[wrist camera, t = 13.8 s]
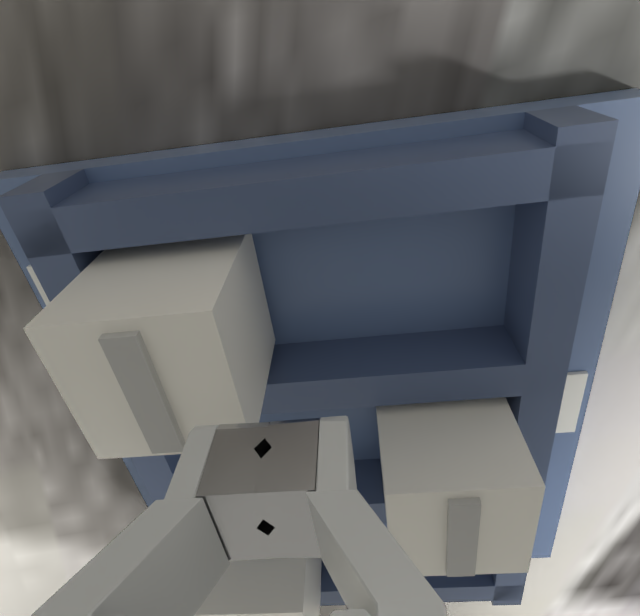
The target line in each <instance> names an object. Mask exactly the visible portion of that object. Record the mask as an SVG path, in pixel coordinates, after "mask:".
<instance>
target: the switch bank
mask: <svg viewBox="0 0 640 616" xmlns="http://www.w3.org/2000/svg"><path fill="white" fill-rule="evenodd" d="M639 190H640V89H637V88H632V89H625V90H617V91H609V92H602V93H594V94H587V95H579V96H571V97H564V98H556V99H548V100H541V101H533V102H525V103H518V104H510V105H503V106H495V107H487V108H480V109H472V110H464V111H457V112H449V113H441V114H434V115H426V116H419V117H411V118H403V119H396V120H388V121H380V122H373V123H365V124H358V125H350V126H342V127H335V128H327V129H319V130H312V131H304V132H296V133H289V134H281V135H274V136H266V137H258V138H251V139H243V140H235V141H228V142H220V143H212V144H205V145H197V146H190V147H182V148H174V149H167V150H159V151H151V152H144V153H136V154H128V155H121V156H113V157H106V158H98V159H90V160H83V161H75V162H67V163H60V164H52V165H45V166H37V167H29V168H22V169H14V170H6V171H1V172H0V229H1V231H2V233H3V235H4V237H5V239H6V241H7V243H8V245H9V246H10V248H11V250H12V252H13V254H14V256H15V258H16V260H17V261H18V263H19V265H20V267H21V269H22V271H23V273H24V275H25V277H26V278H27V280H28V282H29V284H30V286H31V288H32V290H33V292H34V293H35V295H36V297H37V299H38V301H39V303H40V305H41V307H42V309H44V308H45V307H46V306H47V305H48V304H49V303H50V302H51V301H52V300H53V299H54V298H55V297H56V296H57V295H58V294H59V293H60V292H61V291H62V290H63V289H64V288H65V287H66V286H67V285H68V284H69V283H71V282H72V281H73V280H74V279H75V278H76V277H77V276H78V275H79V274H80V273H81V272H82V271H83V270H84V269H85V268H86V267H87V266H88V265H89V264H90V263H91V262H92V261H93V260H94V259H95V258H96V257H97V256H99V255H100V254H101V253H102V252H103V251H104V250H108V249H118V248H127V247H136V246H145V245H154V244H163V243H172V242H181V241H190V240H199V239H208V238H217V237H226V236H235V235H245V234H252V237H253V242H254V246H255V251H256V255H257V260H258V264H259V269H260V273H261V278H262V282H263V287H264V291H265V295H266V300H267V304H268V309H269V313H270V318H271V322H272V327H273V331H274V336H275V345H274V350H273V355H272V360H271V365H270V370H269V375H268V380H267V385H266V390H265V395H264V400H263V405H262V410H261V416H260V421H259V423H260V422H272V421H284V420H297V419H310V418H321V417H333V416H345V415H346V416H348V419H349V425H350V432H351V440H352V447H353V455H354V464H355V474H356V484H357V490H358V491H359V492H360V494H361V495H362V496H363V498H364V499H365V500H366V502H367V503H368V504H369V506H370V507H371V508H372V509H373V511H374V512H375V513H376V515H377V516H378V517H379V519H380V520H381V521H382V522H383V524H384V525H385V526H386V528H387V520H386V510H385V500H384V490H383V480H382V469H381V459H380V448H379V437H378V425H377V414H376V406H388V405H402V404H416V403H431V402H445V401H459V400H473V399H487V398H501V397H506V399H507V402H508V404H509V406H510V408H511V411H512V413H513V415H514V417H515V419H516V422H517V424H518V426H519V428H520V431H521V433H522V435H523V437H524V439H525V442H526V444H527V446H528V448H529V451H530V453H531V455H532V457H533V459H534V462H535V464H536V466H537V468H538V471H539V473H540V475H541V477H542V479H543V482H544V484H545V486H546V487H545V492H544V497H543V502H542V507H541V512H540V517H539V521H538V526H537V531H536V536H535V541H534V546H533V551H532V556H531V558H544V557H550V556H551V551H552V547H553V543H554V539H555V535H556V531H557V527H558V523H559V519H560V514H561V510H562V506H563V502H564V498H565V494H566V490H567V486H568V482H569V477H570V473H571V469H572V465H573V461H574V457H575V453H576V449H577V445H578V440H579V436H580V432H581V428H582V424H583V420H584V416H585V412H586V408H587V403H588V399H589V395H590V391H591V387H592V383H593V379H594V375H595V371H596V366H597V362H598V358H599V354H600V350H601V346H602V342H603V338H604V334H605V329H606V325H607V321H608V317H609V313H610V309H611V305H612V301H613V297H614V292H615V288H616V284H617V280H618V276H619V272H620V268H621V264H622V260H623V255H624V251H625V247H626V243H627V239H628V235H629V231H630V227H631V223H632V219H633V214H634V210H635V206H636V202H637V198H638V194H639ZM180 456H181V454H175V455H159V456H143V457H127V458H122V459H123V461H124V463H125V465H126V467H127V468H128V470H129V472H130V474H131V476H132V478H133V480H134V482H135V484H136V485H137V487H138V489H139V491H140V493H141V495H142V497H143V499H144V500H145V502H146V504H147V506H148V507H149V506H150V505H151V504H152V503H153V502H154V501H156V500H163V499H164V498H165V495H166V493H167V490H168V487H169V485H170V482H171V479H172V477H173V474H174V472H175V469H176V466H177V464H178V461H179V458H180ZM526 576H527V573H505V574H475V576H464V577H447V575H446V576H424V577H425V579H426V580H427V581H428V583H429V584H430V585H431V586H432V588H433V589H434V590H435V592H436V593H437V594H438V596H439V597H440V598H441V600H442V601H443V602H467V601H491V602H492V605H521V600H522V595H523V590H524V585H525V581H526ZM328 605H345V603H344V601H343V599H342V597H341V595H340V593H339V591H338V589H337V588H336V586H335V584H334V582H333V580H332V578H331V576H330V574H329V572H328V571H327V569H326V567H325V565H324V563H323V561H322V567H321V600H320V606H328Z"/></svg>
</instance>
